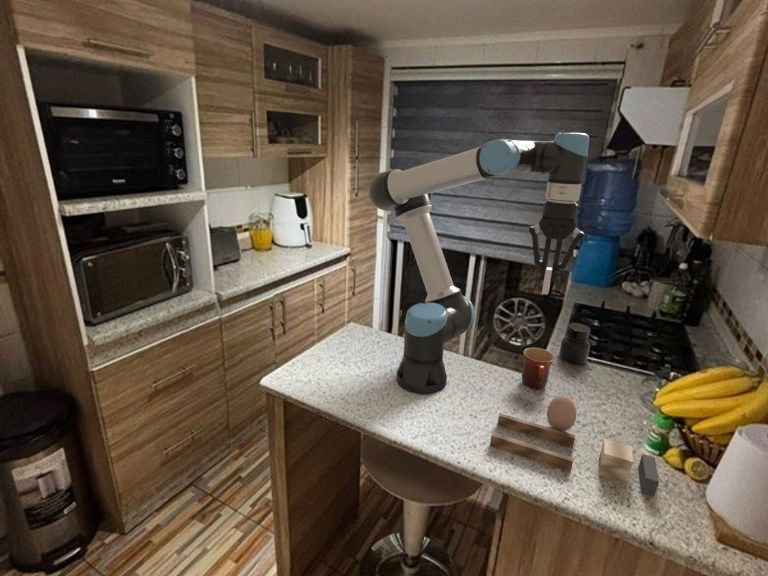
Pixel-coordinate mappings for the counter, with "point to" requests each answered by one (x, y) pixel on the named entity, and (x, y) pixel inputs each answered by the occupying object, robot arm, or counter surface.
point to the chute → (530, 450)
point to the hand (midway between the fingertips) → (545, 292)
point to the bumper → (648, 475)
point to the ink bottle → (575, 344)
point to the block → (615, 461)
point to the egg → (561, 413)
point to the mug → (536, 367)
